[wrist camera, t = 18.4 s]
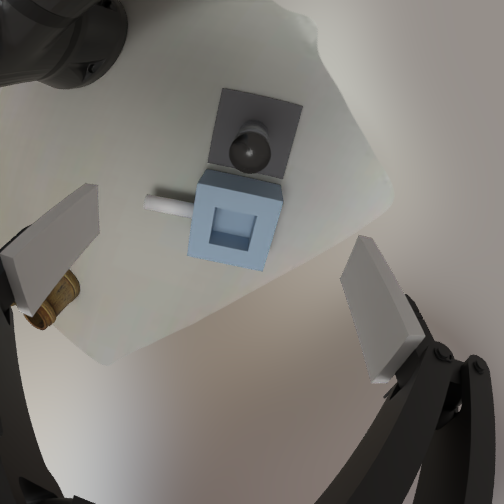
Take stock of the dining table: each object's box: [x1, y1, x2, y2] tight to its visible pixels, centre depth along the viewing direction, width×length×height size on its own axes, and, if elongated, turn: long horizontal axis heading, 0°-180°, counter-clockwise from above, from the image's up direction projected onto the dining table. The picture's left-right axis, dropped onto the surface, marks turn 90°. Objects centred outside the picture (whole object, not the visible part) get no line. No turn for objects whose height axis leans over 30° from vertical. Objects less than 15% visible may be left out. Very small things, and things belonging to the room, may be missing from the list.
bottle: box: [229, 120, 271, 174], centre depth 29 cm, size 4×4×12 cm
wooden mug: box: [11, 270, 80, 330], centre depth 40 cm, size 9×14×18 cm, turn 26°
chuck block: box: [144, 169, 283, 271], centre depth 38 cm, size 10×17×6 cm, turn 77°
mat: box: [208, 88, 303, 179], centre depth 35 cm, size 10×10×1 cm
